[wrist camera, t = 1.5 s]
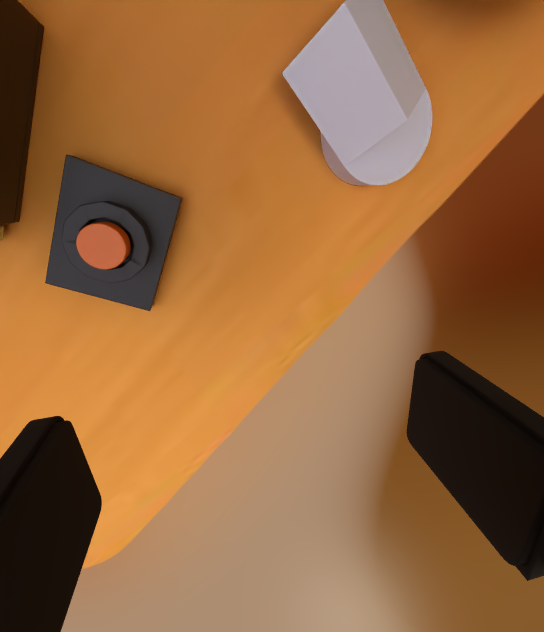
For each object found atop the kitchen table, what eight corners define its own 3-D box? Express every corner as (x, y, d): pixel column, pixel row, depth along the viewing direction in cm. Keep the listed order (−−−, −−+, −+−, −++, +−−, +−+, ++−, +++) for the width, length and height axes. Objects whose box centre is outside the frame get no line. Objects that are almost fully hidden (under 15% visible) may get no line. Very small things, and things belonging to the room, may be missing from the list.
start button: (125, 270, 27) (120, 275, 25) (80, 257, 26) (72, 261, 24) (135, 230, 26) (130, 233, 24) (88, 214, 25) (80, 216, 23)
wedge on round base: (273, 86, 27) (355, 205, 32) (292, 55, 21) (390, 208, 26) (352, 4, 26) (425, 140, 31) (398, -55, 19) (478, 128, 25)
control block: (152, 305, 32) (146, 318, 28) (53, 278, 29) (34, 289, 26) (182, 198, 28) (179, 199, 25) (74, 156, 26) (55, 151, 23)
